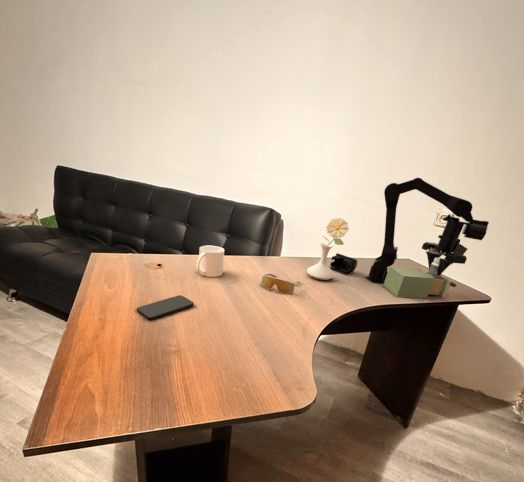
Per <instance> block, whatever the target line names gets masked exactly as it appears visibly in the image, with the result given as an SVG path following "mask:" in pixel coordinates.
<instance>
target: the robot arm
mask: <svg viewBox="0 0 524 482" xmlns="http://www.w3.org/2000/svg"><path fill="white" fill-rule="evenodd" d="M415 190H416V191H418V192H420V193H422V194H423V195H425V196H427V197H429V198H431V199H432V200H435V202H437V203H440V204H441V205H443V206H444V207H445V208H447V209H448V210H449V211H450V212H451V213H453V215H455V216H456V217H455V216H452V215H451V214H450V213H448V214H447V215H446V216H444V217H442V218H441V219H442V220H443V221H445V222H446V224H445V226H444V228H443V230H442V233H441V234H438V236H437V238H438V239H439V241H438V243H436V242H429V241H425V242H424V243H423V244H422V246H421V249H422V250H423V251H425V254H426V257H427V263H428V270H429V269H430V266H431V264H432V262H434V259H435V258H440V261H439V266H438V271H437V275H441V276H442V274H443V273H444V272H445V271H446V270H447V268H449V267H450V266H452V265H453V264H461V265H465V264H466V263H467V259H468V258H467V255H465V253H466V252H467V251H468V248H467V247H466V246H464V245H462V244H461V239H460V235H461V234H462V235H463V238H467V239H471V240H475V241H476V240H477V241H483V240H484V238H485V236H486V234H487V231H488V226H489V223H490V222H489V221H488V220H478V219H474V217H473V214H472V210H473V204H472V202H470V201H469V200H467V199H464V198H461V197H459V196H454V195H451V194H449V193H447V192H445V191H443V190H441V189H440V188H438V187H437V186H434V185H432V184H430V183H429V182H428V181H425V180H424V179H422V178H421V177H415V178H413V179H411V180H407V181H403V182H401V183H400V182H399V183H398V182H391V183H389V184H388V185H387V186H386V187H385V188H384V191H383V192H384V193H383V194H384V195H383V196H384V203H385V207H386V208H385V209H386V211H385V227H384V242H383V247H382V251H381V254H380V256H378V257H375V259H374V262H373V264H372V265H371V266H370V269H369V273H368V275H366V276H365V277H366V279H368V280H369V281H370V282H372V283H376V284H384V282H385V279H386V276H387V273H388V270H389V268H388V267H392V266H393V265H394V264H395V261H396V260H397V259H398V249H399V246H395V233H396V232H395V230H396V218H397V207H398V203H399V200H400V196H401V195H403V194H405V193H408V192H411V191H415ZM460 218H461V219H463V221H461V220H460ZM442 256H444V258H442V259H441V257H442Z"/></svg>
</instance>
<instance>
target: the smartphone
mask: <svg viewBox="0 0 524 482" xmlns="http://www.w3.org/2000/svg"><path fill="white" fill-rule="evenodd" d="M194 305H195V303H194V302H193V301H192V300H191V299H189V298H187V297H185V296H184V295H181V294H179V295H176V296H172V297H169V298H165V299H162V300H158V301H155V302H152V303H147V304H145V305H141V306H138V307H137V308H136V311H137V312H138V313H139V315H141V316H143V317H144V318H146V319H147V320H150V321H152V320H156V319H158V318H161V317H164V316H168V315H170V314H173V313H176V312H179V311H182V310H185V309H188V308H190V307H193V306H194Z"/></svg>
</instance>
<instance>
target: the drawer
mask: <svg viewBox="0 0 524 482" xmlns="http://www.w3.org/2000/svg"><path fill="white" fill-rule="evenodd" d="M450 287H452V288H456V287H457V284H456V283H455V282H453V281H452V280H450V279H449V278H448V277H445V276H443V275H442V274H441V275H440V278H439V279H434V281H433V284H432V286H431V289H430V291H429V293H428V295H437V296H438V295H439V296H441V297H445V296H446V294H447V292H448V290H449V288H450Z"/></svg>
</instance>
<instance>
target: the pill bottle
mask: <svg viewBox="0 0 524 482" xmlns="http://www.w3.org/2000/svg"><path fill="white" fill-rule="evenodd" d="M440 258H441V257H439V258H435V259H434V262H432V264H431V266H430V269H429V268H428V271H427V272H426V273H427V274H428V275H430V276H432V277H434V278H435V279H439V278H440V275H437V271H438V266H439V261H440ZM441 259H443V258H441Z"/></svg>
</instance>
